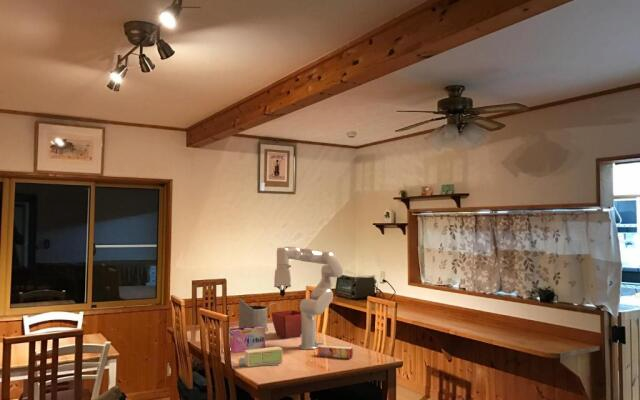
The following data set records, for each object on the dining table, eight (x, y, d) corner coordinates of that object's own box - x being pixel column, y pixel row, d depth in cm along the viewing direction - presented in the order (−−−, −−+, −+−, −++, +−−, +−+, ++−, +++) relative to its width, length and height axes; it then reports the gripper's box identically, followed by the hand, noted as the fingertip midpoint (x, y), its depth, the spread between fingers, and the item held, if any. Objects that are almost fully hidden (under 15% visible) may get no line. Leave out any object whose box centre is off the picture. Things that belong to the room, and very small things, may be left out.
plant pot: (307, 337, 369) (307, 313, 370) (283, 340, 358) (284, 316, 359) (293, 332, 385) (293, 309, 385) (270, 335, 374) (270, 312, 375)
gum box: (261, 345, 343) (261, 325, 344) (267, 347, 336) (267, 326, 337) (228, 350, 329) (228, 329, 330) (233, 353, 323) (233, 331, 323)
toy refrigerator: (283, 363, 298) (248, 367, 289) (278, 360, 305) (244, 363, 295) (283, 349, 298) (248, 352, 289) (278, 346, 305) (244, 349, 296)
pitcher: (235, 328, 399) (235, 296, 400) (275, 326, 409) (275, 294, 410) (240, 334, 377) (240, 300, 378) (282, 332, 387) (282, 298, 388)
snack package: (317, 356, 314) (317, 345, 315) (321, 354, 320) (321, 343, 321) (350, 360, 306) (350, 348, 307) (353, 357, 312) (353, 346, 313)
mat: (276, 357, 311) (276, 356, 311) (278, 365, 293) (278, 364, 293) (240, 358, 308) (240, 358, 308) (239, 367, 290) (239, 366, 290)
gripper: (293, 266, 330) (293, 295, 329) (270, 266, 328) (270, 295, 327) (295, 267, 323) (294, 297, 322) (271, 267, 321) (270, 297, 320)
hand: (282, 296), depth 324 cm, fingers closed
